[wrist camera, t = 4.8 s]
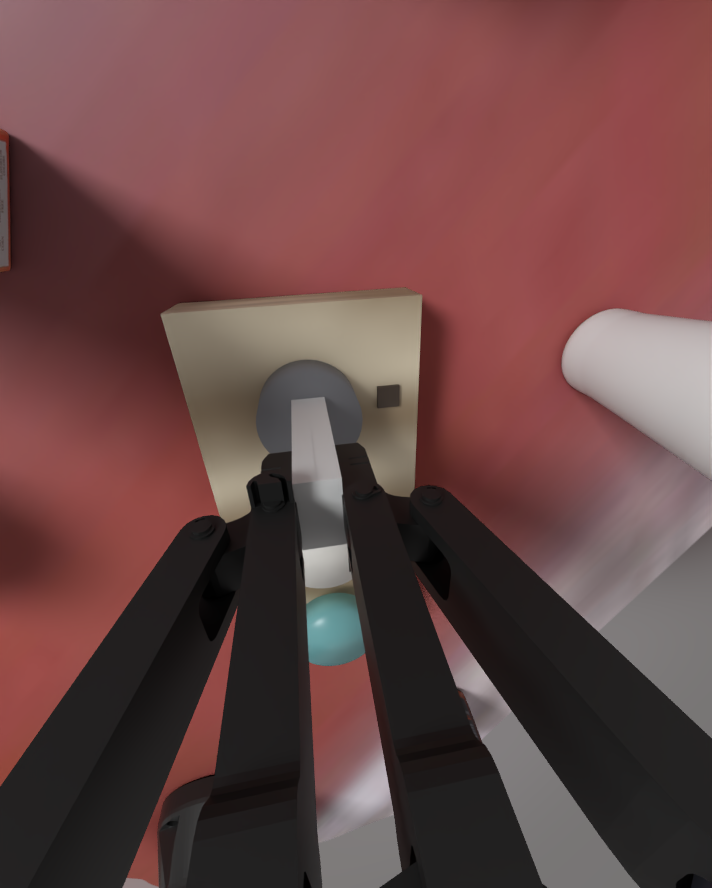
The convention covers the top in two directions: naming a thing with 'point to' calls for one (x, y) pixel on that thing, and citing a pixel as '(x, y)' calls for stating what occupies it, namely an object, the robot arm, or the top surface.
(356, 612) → the teal button
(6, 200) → the cracker box
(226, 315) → the button panel
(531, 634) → the robot arm
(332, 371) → the grey button
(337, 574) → the white button
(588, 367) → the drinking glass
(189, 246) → the top surface
